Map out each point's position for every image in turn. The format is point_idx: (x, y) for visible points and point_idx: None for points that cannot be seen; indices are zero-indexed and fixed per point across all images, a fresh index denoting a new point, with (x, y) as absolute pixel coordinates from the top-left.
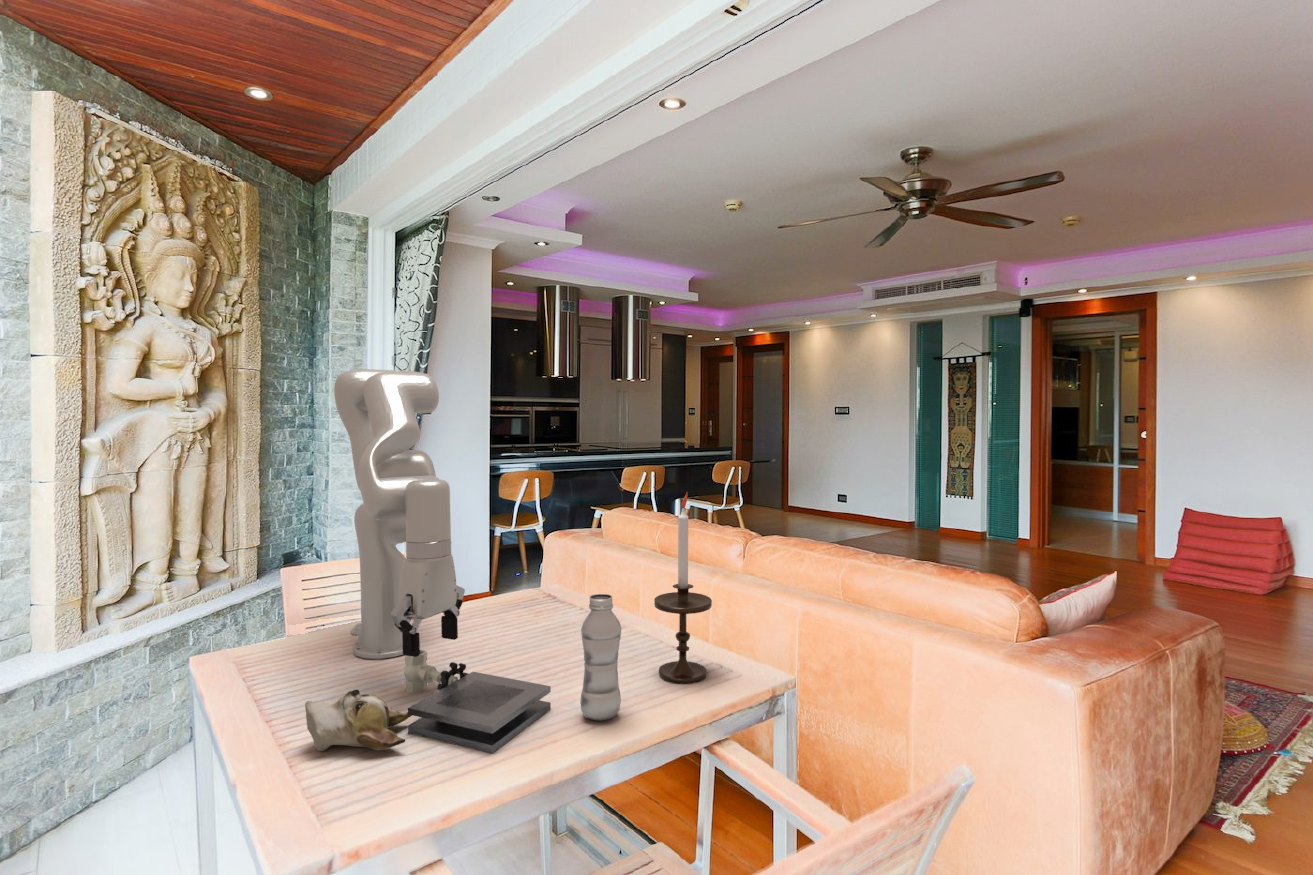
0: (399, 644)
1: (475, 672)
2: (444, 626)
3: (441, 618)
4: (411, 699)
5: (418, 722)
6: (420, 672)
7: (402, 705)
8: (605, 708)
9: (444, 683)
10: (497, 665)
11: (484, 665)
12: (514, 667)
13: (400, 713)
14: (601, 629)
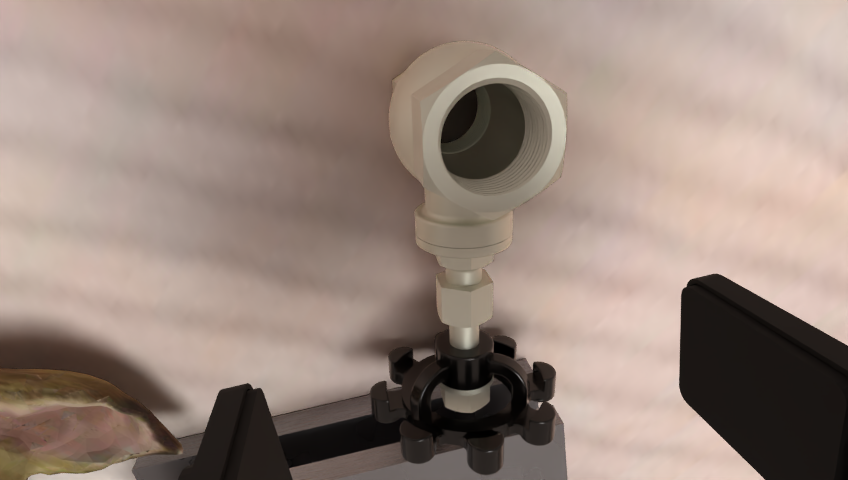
0: None
1: (560, 438)
2: (758, 366)
3: (835, 385)
4: (339, 202)
5: (178, 475)
6: (431, 205)
7: (271, 224)
8: None
9: (401, 416)
10: (811, 208)
11: (795, 158)
12: (809, 283)
13: (133, 418)
14: None
